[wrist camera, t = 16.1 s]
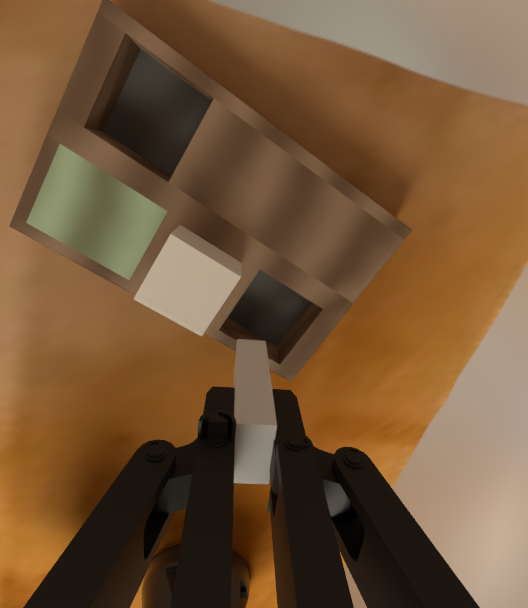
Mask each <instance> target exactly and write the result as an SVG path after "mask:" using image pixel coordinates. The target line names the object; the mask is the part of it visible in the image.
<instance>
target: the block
mask: <svg viewBox="0 0 528 608" xmlns="http://www.w3.org/2000/svg"><path fill="white" fill-rule="evenodd" d="M241 269H242V263H241V262H239V261H238V260H236V259H234V258H233V257H231V256H230V255H228V254H226V253H225V252H223V251H222V250H220V249H218V248H217V247H215V246H214V245H212V244H210V243H209V242H207V241H206V240H204V239H202V238H201V237H199V236H198V235H196V234H194V233H193V232H191V231H190V230H188V229H186V228H185V227H183V226H182V225H179V226H178V227H177V228H176V229H175V230H174V231H173V232H172V233H171V234H170V236H169V237H168V239H167V241H166V243H165V244H164V246H163V248H162V250H161V251H160V253H159V255H158V257H157V258H156V260H155V262H154V264H153V265H152V267H151V269H150V271H149V272H148V274H147V276H146V278H145V279H144V281H143V283H142V285H141V286H140V288H139V290H138V292H137V293H136V295H135V297H134V300H136V301H137V302H139V303H141V304H143V305H145V306H147V307H148V308H150V309H152V310H154V311H156V312H157V313H159V314H161V315H163V316H165V317H167V318H168V319H170V320H172V321H174V322H176V323H178V324H179V325H181V326H183V327H185V328H187V329H189V330H190V331H192V332H194V333H196V334H198V335H200V336H201V337H202V335H203V334H204V332H205V331H206V329H207V328H208V326H209V325H210V323H211V322H212V320H213V319H214V317H215V316H216V314H217V313H218V311H219V310H220V308H221V307H222V305H223V304H224V302H225V301H226V299H227V298H228V296H229V295H230V293H231V292H232V290H233V289H234V287H235V286H236V284H237V283H238V281H239V280H240V278H241Z"/></svg>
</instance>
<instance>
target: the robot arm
mask: <svg viewBox="0 0 528 608" xmlns="http://www.w3.org/2000/svg"><path fill="white" fill-rule="evenodd" d="M269 478H270V482H271V488H270V495H269V501H268V508H267V512H270V514H271V526H272V539H273V552H274V565H275V578H276V591H277V604H278V608H354V607H353V603H352V599H351V595H350V591H349V587H348V583H347V580H346V575H345V571H344V567H343V563H342V559H341V555H340V552H341V554H342V556H343V559H344V561H345V563H346V565H347V567H348V569H349V571H350V573H351V575H352V577H353V579H354V581H355V583H356V585H357V587H358V589H359V591H360V593H361V596H362V597H363V600H364V602H365V604H366V606H367V608H480V607H479V606H478V605H477V603H476V602H475V601H474V599H473V598H472V597H471V595H470V594H469V592H468V591H467V590H466V588H465V587H464V586H463V584H462V583H461V582H460V580H459V579H458V578H457V576H456V575H455V574H454V572H453V571H452V570H451V568H450V567H449V565H448V564H447V563H446V561H445V560H444V559H443V557H442V556H441V554H440V553H439V552H438V550H437V549H436V548H435V546H434V545H433V544H432V542H431V541H430V540H429V538H428V537H427V536H426V534H425V533H424V531H423V530H422V529H421V527H420V526H419V525H418V523H417V522H416V521H415V519H414V518H413V517H412V515H411V514H410V512H409V511H408V510H407V508H406V507H405V506H404V504H403V503H402V502H401V500H400V499H399V497H398V496H397V495H396V493H395V492H394V491H393V489H392V488H391V487H390V485H389V484H388V483H387V481H386V480H385V478H384V477H383V476H382V474H381V473H380V472H379V470H378V469H377V468H376V466H375V465H374V464H373V462H372V461H371V459H370V458H369V457H368V456H367V455H366V454H365V453H364V452H362V451H360V450H358V449H356V448H352V447H342V448H339V449H338V450H337V451H336V452H335V454H331V453H328V452H324V451H322V450H319V449H317V448H316V447H314V446H313V444H312V442H311V440H310V439H309V438H308V437H307V436H306V435H305V430H304V426H303V422H302V418H301V414H300V409H299V407H298V401H297V397H296V396H295V395H294V394H293V392H292V391H291V390H280V389H272V384H271V377H270V369H269V362H268V354H267V347H266V341H259V340H245V339H237V346H236V357H235V369H234V381H233V388H230V387H212V388H211V389H210V390H209V391H208V392H207V394H206V400H205V407H204V413H203V415H202V416H201V417H200V419H199V424H198V438H197V439H196V440H195V441H194V442H192V443H190V444H188V445H186V446H182V447H178V448H175V447H174V446H173V445H172V444H171V443H170V442H167V441H165V440H153V441H149V442H147V443H145V444H143V445H142V446H141V447H140V448H138V449H137V451H136V452H135V453H134V455H133V456H132V458H131V459H130V460H129V462H128V463H127V465H126V466H125V467H124V469H123V470H122V472H121V473H120V474H119V476H118V477H117V478H116V480H115V481H114V483H113V484H112V485H111V487H110V488H109V490H108V491H107V492H106V494H105V495H104V496H103V498H102V499H101V501H100V502H99V503H98V505H97V506H96V508H95V509H94V510H93V512H92V513H91V515H90V516H89V517H88V519H87V520H86V521H85V523H84V524H83V526H82V527H81V528H80V530H79V531H78V533H77V534H76V535H75V537H74V538H73V539H72V541H71V542H70V544H69V545H68V546H67V548H66V549H65V551H64V552H63V553H62V555H61V556H60V558H59V559H58V560H57V562H56V563H55V564H54V566H53V567H52V569H51V570H50V571H49V573H48V574H47V576H46V577H45V578H44V580H43V581H42V582H41V584H40V585H39V587H38V588H37V589H36V591H35V592H34V594H33V595H32V596H31V598H30V599H29V601H28V602H27V603H26V605H25V606H24V607H23V608H130V606H131V604H132V602H133V600H134V597H135V595H136V593H137V591H138V589H139V587H140V585H141V583H142V580H143V578H144V576H145V578H144V582H143V586H142V608H246V604H247V601H248V597H249V570H248V567H247V565H246V564H245V562H244V561H243V560H242V558H240V557H239V556H238V555H237V554H235V553H234V552H232V532H233V492H234V483H243V484H269ZM186 508H187V509H186ZM182 509H186V515H185V521H184V528H183V534H182V540H181V545H179V546H175V547H172V548H170V549H167V550H165V551H163V552H162V553H160V554H159V555H157V556H156V557H155V558H154V559H153V557H154V555H155V553H156V551H157V549H158V547H159V544H160V542H161V540H162V538H163V536H164V534H165V532H166V530H167V528H168V525H169V523H170V521H171V519H172V517H173V514H174V512H175V511H178V510H182ZM339 550H340V551H339ZM152 559H153V560H152Z"/></svg>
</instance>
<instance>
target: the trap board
mask: <svg viewBox="0 0 528 608" xmlns="http://www.w3.org/2000/svg"><path fill="white" fill-rule="evenodd" d="M179 225H182V226H183V227H185V228H186V229H188V230H190V231H191V232H193V233H194V234H196V235H198V236H199V237H201V238H202V239H204V240H206V241H207V242H209V243H210V244H212V245H214V246H215V247H217V248H218V249H220V250H222V251H223V252H225V253H226V254H228V255H230V256H231V257H233V258H234V259H236V260H238V261H239V262H241V263H242V269H241V278H240V280H239V281H238V283H237V284H236V286H235V287H234V289H233V290H232V292H231V293H230V295H229V296H228V298H227V299H226V301H225V302H224V304H223V305H222V307H221V308H220V310H219V311H218V313H217V314H216V316H215V317H214V319H213V320H212V322H211V323H210V325H209V326H208V328H207V329H206V331H205V332H204V334H206V335H208V336H209V337H211V338H213V339H215V340H217V341H219V342H220V343H222V344H224V345H226V346H228V347H229V348H231V349H233V350H235V351H236V346H237V339H245V340H259V341H266V347H267V354H268V362H269V369H270V370H271V371H273V372H275V373H277V374H278V375H280V376H282V377H284V378H286V379H288V380H289V381H291V380H292V379H293V378H294V377H295V375H296V374H297V373H298V372H299V370H300V369H301V368H302V367H303V365H304V364H305V363H306V362H307V360H308V359H309V358H310V357H311V355H312V354H313V353H314V352H315V350H316V349H317V348H318V347H319V346H320V344H321V343H322V342H323V341H324V339H325V338H326V337H327V336H328V334H329V333H330V332H331V331H332V329H333V328H334V327H335V326H336V324H337V323H338V322H339V321H340V319H341V318H342V317H343V316H344V314H345V313H346V312H347V311H348V309H349V308H350V307H351V306H352V304H353V303H354V302H355V301H356V299H357V298H358V297H359V296H360V294H361V293H362V292H363V291H364V289H365V288H366V287H367V286H368V284H369V283H370V282H371V281H372V279H373V278H374V277H375V276H376V274H377V273H378V272H379V271H380V269H381V268H382V267H383V266H384V264H385V263H386V262H387V261H388V259H389V258H390V257H391V256H392V254H393V253H394V252H395V251H396V249H397V248H398V247H399V246H400V244H401V243H402V242H403V241H404V239H405V238H406V237H407V236H408V234H409V233H410V232H411V231H412V230H411V229H410V228H409V227H407V226H406V225H405V224H403V223H402V222H401V221H399V220H398V219H397V218H396V217H394V216H393V215H392V214H390V213H389V212H388V211H386V210H385V209H384V208H382V207H381V206H380V205H378V204H377V203H376V202H374V201H373V200H372V199H370V198H369V197H368V196H366V195H365V194H364V193H363V192H361V191H360V190H359V189H357V188H356V187H355V186H353V185H352V184H351V183H349V182H348V181H347V180H345V179H344V178H343V177H341V176H340V175H339V174H337V173H336V172H335V171H333V170H332V169H331V168H329V167H328V166H327V165H326V164H324V163H323V162H322V161H320V160H319V159H318V158H316V157H315V156H314V155H312V154H311V153H310V152H308V151H307V150H306V149H304V148H303V147H302V146H300V145H299V144H298V143H296V142H295V141H294V140H293V139H291V138H290V137H289V136H287V135H286V134H285V133H283V132H282V131H281V130H279V129H278V128H277V127H275V126H274V125H273V124H271V123H270V122H269V121H267V120H266V119H265V118H263V117H262V116H261V115H260V114H258V113H257V112H256V111H254V110H253V109H252V108H250V107H249V106H248V105H246V104H245V103H244V102H242V101H241V100H240V99H238V98H237V97H236V96H234V95H233V94H232V93H230V92H229V91H228V90H227V89H225V88H224V87H223V86H221V85H220V84H219V83H217V82H216V81H215V80H213V79H212V78H211V77H209V76H208V75H207V74H205V73H204V72H203V71H201V70H200V69H199V68H197V67H196V66H195V65H193V64H192V63H191V62H190V61H188V60H187V59H186V58H184V57H183V56H182V55H180V54H179V53H178V52H176V51H175V50H174V49H172V48H171V47H170V46H168V45H167V44H166V43H164V42H163V41H162V40H160V39H159V38H158V37H157V36H155V35H154V34H153V33H151V32H150V31H149V30H147V29H146V28H145V27H143V26H142V25H141V24H139V23H138V22H137V21H135V20H134V19H133V18H131V17H130V16H129V15H127V14H126V13H125V12H124V11H122V10H121V9H120V8H118V7H117V6H116V5H114V4H113V3H112V2H110V1H109V0H103V1H102V3H101V6H100V8H99V11H98V13H97V15H96V18H95V20H94V23H93V25H92V28H91V30H90V32H89V35H88V37H87V40H86V42H85V45H84V47H83V49H82V52H81V54H80V57H79V59H78V61H77V64H76V66H75V69H74V71H73V74H72V76H71V78H70V81H69V83H68V86H67V88H66V90H65V93H64V95H63V98H62V100H61V103H60V105H59V107H58V110H57V112H56V115H55V117H54V120H53V122H52V124H51V127H50V129H49V132H48V134H47V136H46V139H45V141H44V144H43V146H42V149H41V151H40V153H39V156H38V158H37V161H36V163H35V166H34V168H33V170H32V173H31V175H30V178H29V180H28V182H27V185H26V187H25V190H24V192H23V195H22V197H21V199H20V202H19V204H18V207H17V209H16V212H15V214H14V216H13V219H12V221H11V224H10V227H12V228H13V229H15V230H17V231H19V232H21V233H23V234H24V235H26V236H28V237H30V238H32V239H33V240H35V241H37V242H39V243H41V244H43V245H44V246H46V247H48V248H50V249H52V250H53V251H55V252H57V253H59V254H61V255H62V256H64V257H66V258H68V259H70V260H72V261H73V262H75V263H77V264H79V265H81V266H82V267H84V268H86V269H88V270H90V271H92V272H93V273H95V274H97V275H99V276H101V277H102V278H104V279H106V280H108V281H110V282H111V283H113V284H115V285H117V286H119V287H121V288H122V289H124V290H126V291H128V292H130V293H131V294H133V295H136V293H137V292H138V290H139V288H140V286H141V285H142V283H143V281H144V279H145V278H146V276H147V274H148V272H149V271H150V269H151V267H152V265H153V264H154V262H155V260H156V258H157V257H158V255H159V253H160V251H161V250H162V248H163V246H164V244H165V243H166V241H167V239H168V237H169V236H170V234H171V233H172V232H173V231H174V230H175V229H176V228H177V227H178V226H179Z"/></svg>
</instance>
